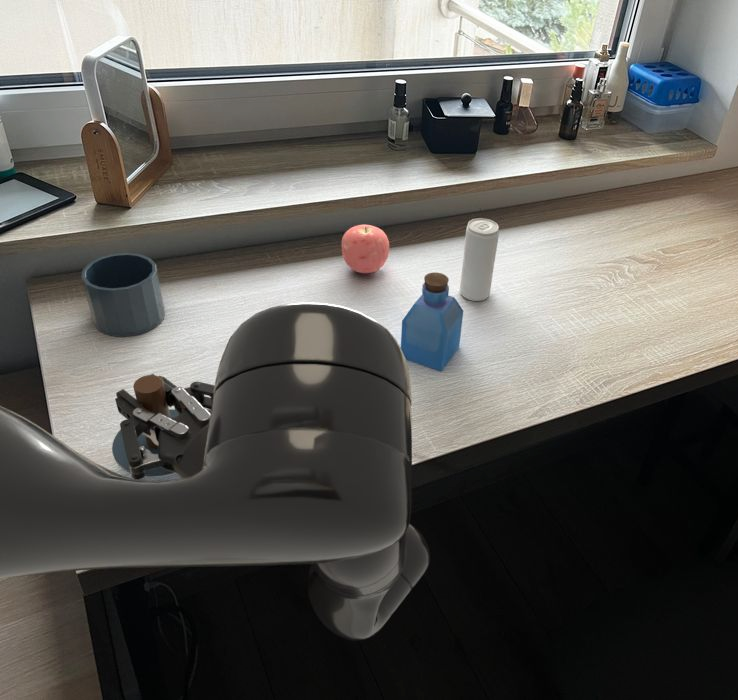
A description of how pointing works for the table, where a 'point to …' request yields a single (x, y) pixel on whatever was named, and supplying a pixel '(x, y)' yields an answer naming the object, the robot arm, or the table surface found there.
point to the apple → (365, 248)
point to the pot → (124, 294)
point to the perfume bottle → (432, 325)
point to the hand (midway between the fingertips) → (135, 389)
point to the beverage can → (479, 258)
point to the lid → (154, 400)
